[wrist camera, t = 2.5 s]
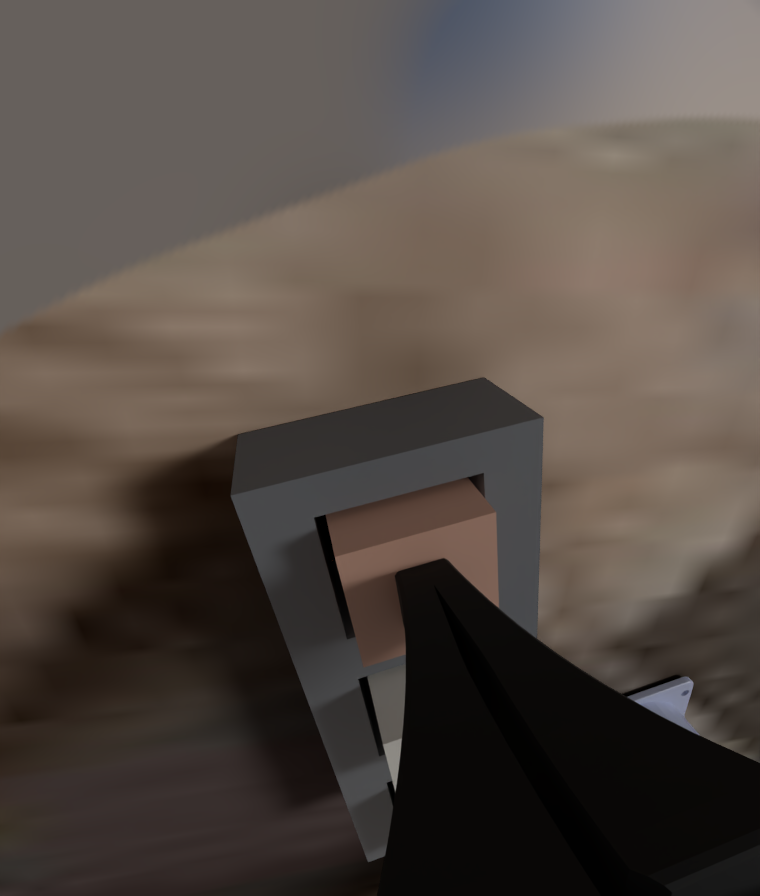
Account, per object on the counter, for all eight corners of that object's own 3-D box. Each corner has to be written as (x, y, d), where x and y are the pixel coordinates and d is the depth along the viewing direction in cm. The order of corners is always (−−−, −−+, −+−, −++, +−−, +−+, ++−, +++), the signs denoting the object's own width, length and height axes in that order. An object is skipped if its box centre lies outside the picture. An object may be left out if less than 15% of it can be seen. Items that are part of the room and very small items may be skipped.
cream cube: (470, 679, 18) (513, 770, 15) (376, 710, 18) (400, 812, 14) (465, 611, 16) (512, 700, 13) (359, 643, 16) (382, 744, 13)
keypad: (497, 727, 24) (531, 800, 21) (354, 777, 23) (368, 862, 20) (484, 377, 14) (543, 417, 11) (238, 434, 13) (230, 495, 10)
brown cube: (453, 547, 16) (499, 624, 13) (343, 578, 15) (363, 667, 12) (444, 449, 14) (496, 512, 11) (318, 481, 13) (334, 556, 10)
